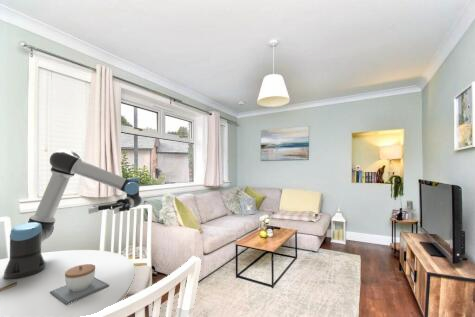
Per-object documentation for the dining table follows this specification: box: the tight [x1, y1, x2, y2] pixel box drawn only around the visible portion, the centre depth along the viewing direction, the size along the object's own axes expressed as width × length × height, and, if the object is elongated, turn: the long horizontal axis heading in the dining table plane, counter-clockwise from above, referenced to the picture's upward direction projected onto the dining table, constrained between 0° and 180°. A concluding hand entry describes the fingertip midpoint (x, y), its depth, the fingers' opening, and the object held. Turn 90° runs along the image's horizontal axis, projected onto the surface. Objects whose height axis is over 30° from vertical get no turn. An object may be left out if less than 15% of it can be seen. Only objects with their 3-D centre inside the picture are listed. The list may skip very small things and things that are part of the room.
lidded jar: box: [64, 263, 96, 291], centre depth 97 cm, size 11×11×9 cm
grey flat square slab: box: [49, 276, 110, 306], centre depth 96 cm, size 16×16×1 cm
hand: (101, 211), depth 116 cm, fingers open, 13 cm apart
